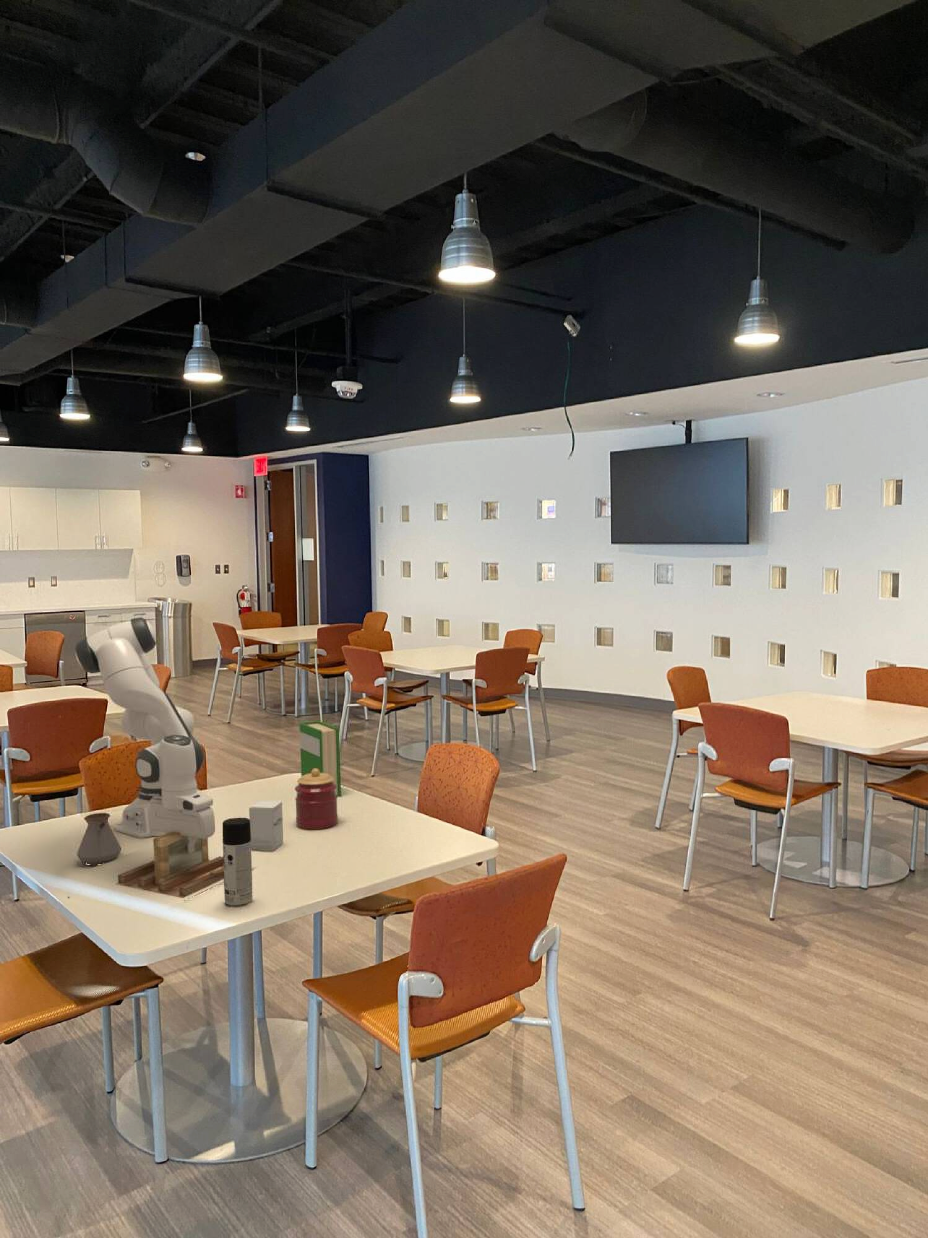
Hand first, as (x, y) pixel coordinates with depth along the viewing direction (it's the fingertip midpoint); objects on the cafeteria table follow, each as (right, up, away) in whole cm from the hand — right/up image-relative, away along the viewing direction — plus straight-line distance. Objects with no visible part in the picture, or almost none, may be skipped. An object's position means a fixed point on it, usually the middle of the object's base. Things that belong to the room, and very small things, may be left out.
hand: (182, 850), depth 238 cm
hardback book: (+23, -1, +85) cm, 88 cm away
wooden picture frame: (0, -7, 0) cm, 7 cm away
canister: (+28, -4, +47) cm, 55 cm away
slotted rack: (0, -8, +1) cm, 8 cm away
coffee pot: (-26, -8, +12) cm, 29 cm away
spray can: (+19, -9, -16) cm, 26 cm away
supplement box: (+17, -6, +26) cm, 31 cm away
